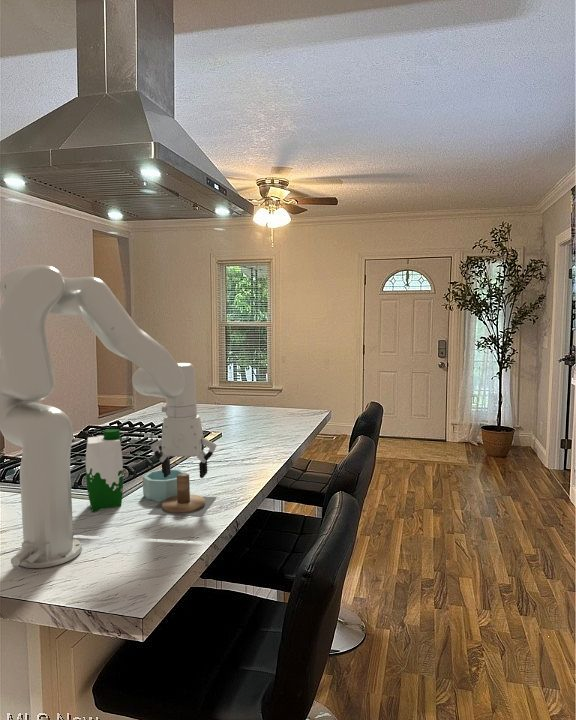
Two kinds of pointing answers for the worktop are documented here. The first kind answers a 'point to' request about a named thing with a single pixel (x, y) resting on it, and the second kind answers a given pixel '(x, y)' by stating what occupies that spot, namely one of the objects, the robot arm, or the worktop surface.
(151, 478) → the bowl
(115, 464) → the soya milk
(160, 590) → the worktop surface
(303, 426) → the worktop surface
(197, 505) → the lid
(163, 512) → the mat
